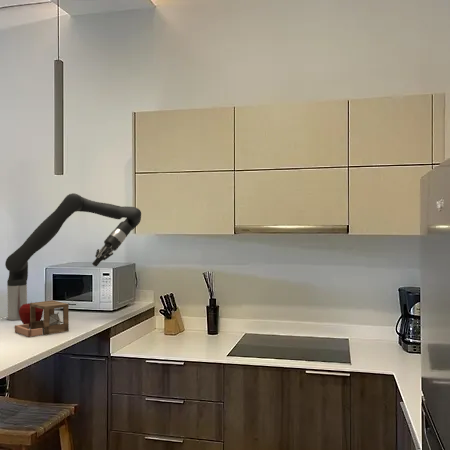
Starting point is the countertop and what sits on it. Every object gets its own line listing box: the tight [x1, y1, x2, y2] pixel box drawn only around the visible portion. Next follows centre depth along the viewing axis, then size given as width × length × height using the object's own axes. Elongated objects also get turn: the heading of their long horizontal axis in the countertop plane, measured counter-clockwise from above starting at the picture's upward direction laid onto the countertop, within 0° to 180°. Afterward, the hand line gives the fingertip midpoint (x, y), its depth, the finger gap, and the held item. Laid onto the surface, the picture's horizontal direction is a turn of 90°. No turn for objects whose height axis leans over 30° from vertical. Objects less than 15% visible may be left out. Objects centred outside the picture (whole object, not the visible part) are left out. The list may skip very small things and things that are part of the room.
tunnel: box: [29, 299, 70, 336], centre depth 230 cm, size 16×11×12 cm
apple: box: [19, 302, 44, 328], centre depth 241 cm, size 11×11×12 cm
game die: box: [41, 312, 63, 326], centre depth 231 cm, size 9×8×10 cm
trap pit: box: [14, 323, 44, 338], centre depth 224 cm, size 15×6×3 cm, turn 44°
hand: (94, 265), depth 251 cm, fingers closed
